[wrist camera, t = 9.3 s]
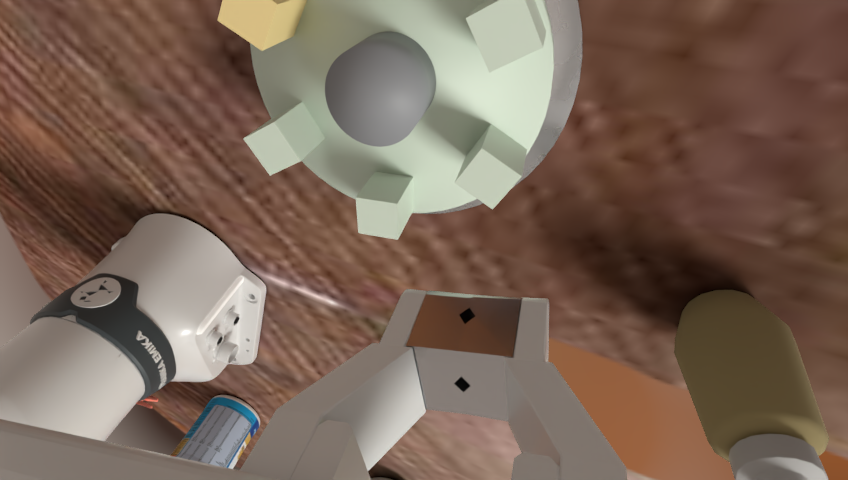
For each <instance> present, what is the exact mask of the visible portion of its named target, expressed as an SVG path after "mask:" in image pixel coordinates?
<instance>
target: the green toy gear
mask: <svg viewBox="0 0 848 480" xmlns="http://www.w3.org/2000/svg"><path fill="white" fill-rule="evenodd" d="M218 21H219V22H220V23H222V24H223V25H225V26H226V27H228V28H229V29H231V30H232V31H234V32H235V33H236V34H238V35H239V36H241V37H242V38H244V39H245V40H247V41H248V42H250V48H251V56H252V63H253V68H254V73H255V77H256V81H257V85H258V88H259V90H260V93H261V96H262V99H263V102H264V104H265V106H266V108H267V110H268V113H269V115H270V117H271V119H270V120H269V121H268V122H266V123H265V124H263V125H262V126H261V127H259V128H258V129H256V130H255V131H253V132H252V133H251V134H249V135H248V136H246V137H245V138H243V139H244V140H245V142H246V143H247V144H248V146H249V147H250V149H251V150H252V151H253V153H254V154H255V156H256V157H257V158H258V160H259V161H260V162H261V164H262V165H263V167H264V168H265V169H266V171H267V172H268V174H269V175H272V174H274V173H276V172H279V171H281V170H283V169H285V168H287V167H289V166H291V165H294V164H296V163H298V162H300V161H302V162H303V163H304V164H305V165H306V166H307V167H308V168H310V169H311V170H312V171H313V172H314V173H315V174H316V175H317V176H318V177H320V178H321V179H322V180H324V181H325V182H327V183H328V184H329V185H331V186H332V187H334V188H335V189H337V190H339V191H340V192H342V193H344V194H345V195H347V196H349V197H352V198H354V199H356V208H357V221H358V233H361V234H367V235H373V236H379V237H385V238H391V239H396V240H398V238H399V237H400V235H401V233H402V231H403V229H404V227H405V225H406V223H407V221H408V219H409V217H410V216H411V214H412V213H429V212H436V211H444V210H447V209H451V208H455V207H459V206H461V205H464V204H466V203H469V202H471V201H474V200H476V199H478V200H480V201H481V202H483V203H484V204H486V205H487V206H488V207H490V208H491V209H493V208H494V207H495V206H496V205H497V204H498V203H499V202H500V201H501V200H502V198H503V197H504V196H505V195H506V194H507V193H508V192H509V191H510V189H511V188H512V187H513V186H514V185H515V184H516V183H517V182H518V181H519V179H520V178H521V177H522V174H523V169H524V163H525V158H526V155H527V154H528V152H529V150H530V149H531V147H532V145H533V143H534V142H535V140H536V138H537V136H538V134H539V132H540V129H541V127H542V124H543V122H544V119H545V116H546V112H547V108H548V104H549V100H550V96H551V88H552V79H553V70H554V40H553V33H552V27H551V20H550V16H549V13H548V9H547V6H546V2H545V0H223V1H222V5H221V9H220V12H219V16H218Z"/></svg>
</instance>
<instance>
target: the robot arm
mask: <svg viewBox="0 0 848 480" xmlns="http://www.w3.org/2000/svg"><path fill="white" fill-rule="evenodd" d="M111 250H112V251H111V252H110V253H109V254H108V255H107V256H106V257H105V258H104V259H103V260H102V261H101V262H100V263H98V264H97V265H96V266H95V267H94V268H93V269H92V270H91V271H90V272H89V273H88V274H87V275H86V276H85V277H84V278H83V279H82V280H81V281H80V282H79V283H78V284H77V285H76V286H74V287H72V288H69V289H67V290H66V291H64V292H63V293H62V294H60V295H59V296H58V297H57V298H55V299H54V300H53V301H51V302H49V303H47V304H46V305H45V306H44V307H42V309H41V310H40V311H39V312H38V313H37V314H36V315H34V316H33V318H32V319H31V321H30V325H29V326H28V327H27V328H25V329H24V330H23V331H22V332H20V333H19V334H18V335H16V336H15V337H14V338H12V339H11V340H10V341H9V342H7V343H6V344H5V345H3V346H2V347H1V348H0V480H371V479H370V476H369V473H368V471H369V470H370V469H371V468H372V467H373V466H374V465H375V464H376V463H377V462H378V461H379V460H380V459H381V458H382V457H383V455H384V454H385V453H386V452H387V451H388V450H389V449H390V448H391V447H392V446H393V445H394V444H395V443H396V442H397V441H398V440H399V439H400V438H401V437H402V436H403V435H404V434H405V433H406V432H407V431H408V430H409V429H410V428H411V427H412V426H413V425H414V424H415V423H416V422H417V421H418V419H419V418H420V417H421V416H422V415H423V414H424V413H425V412H426V409H428V410H436V411H445V412H453V413H461V414H469V415H474V416H480V417H486V418H491V419H497V420H503V421H508V422H509V426H510V428H511V430H512V432H513V434H514V437H515V439H516V441H517V443H518V445H519V448H520V450H521V452H522V453H521V454H520V455H518V456H517V457H515V458H514V463H513V470H512V478H511V480H627V472H626V467H625V465H624V464H623V462H622V461H621V460H620V458H619V457H618V455H617V454H616V453H615V451H614V450H613V448H612V447H611V445H610V444H609V443H608V441H607V440H606V438H605V437H604V435H603V434H602V433H601V431H600V430H599V429H598V427H597V425H596V424H595V423H594V421H593V420H592V418H591V417H590V416H589V414H588V413H587V411H586V410H585V409H584V407H583V406H582V404H581V403H580V401H579V400H578V399H577V397H576V396H575V394H574V393H573V391H572V390H571V389H570V387H569V386H568V384H567V383H566V382H565V380H564V379H563V377H562V376H561V374H560V373H559V372H558V370H557V369H556V367H555V366H554V364H553V363H551V362H548V343H549V300H548V299H540V298H515V297H499V296H484V295H469V294H459V293H448V292H438V291H422V290H412V289H407V290H405V291H404V292H403V293H402V295H401V297H400V299H399V301H398V304H397V306H396V308H395V310H394V312H393V315H392V317H391V319H390V321H389V323H388V325H387V328H386V330H385V332H384V334H383V336H382V339H381V341H380V343H379V344H376V343H372V344H371V345H369V346H368V347H366V348H365V349H363V350H362V351H360V352H359V353H358V354H356V355H355V356H353V357H352V358H350V359H349V360H347V361H346V362H345V363H343V364H342V365H340V366H339V367H337V368H336V369H334V370H333V371H331V372H330V373H329V374H327V375H326V376H324V377H323V378H321V379H320V380H318V381H317V382H316V383H314V384H313V385H311V386H310V387H308V388H307V389H305V390H304V391H302V392H301V393H300V394H298V395H297V396H295V397H294V398H292V399H291V400H289V401H288V402H287V403H285V404H284V405H282V406H281V407H279V408H278V409H277V410H276V412H275V413H274V415H273V417H272V418H271V420H270V422H269V423H268V425H267V426H266V428H265V430H264V431H263V433H262V435H261V436H260V438H259V440H258V441H257V443H256V445H255V446H254V448H253V450H252V451H251V453H250V455H249V456H248V458H247V460H246V461H245V463H244V465H243V466H242V468H241V470H235V469H230V468H226V467H221V466H216V465H212V464H207V463H202V462H198V461H193V460H189V459H184V458H179V457H175V456H170V455H165V454H161V453H156V452H151V451H147V450H142V449H137V448H133V447H128V446H124V445H119V444H114V443H110V442H105V440H106V439H107V437H108V436H109V435H110V434H111V433H112V431H113V430H114V429H115V428H116V427H117V425H118V424H119V423H120V421H121V420H122V419H123V418H124V417H125V416H126V414H127V413H128V412H129V411H130V410H131V409H132V407H133V406H134V405H135V404H139V405H142V406H145V407H149V408H152V406H151V405H149V404H147V403H145V402H142V401H143V400H146V401H156V402H157V401H158V398H156V397H153V396H150V395H152V394H153V393H155V392H156V391H158V390H159V389H160V388H162V387H163V386H165V385H166V384H167V383H169V382H170V381H177V382H205V381H209V380H212V379H214V378H215V377H216V376H218V375H219V374H220V373H221V371H222V370H223V369H224V368H225V367H226V366H227V364H236V365H244V364H250V363H252V362H253V361H254V360H255V359H256V357H257V352H258V345H259V338H260V331H261V324H262V317H263V310H264V303H265V296H266V286H265V284H264V283H263V282H262V281H261V280H260V279H259V278H258V277H257V276H255V275H254V274H253V273H251V272H250V271H249V270H247V269H246V268H245V267H244V266H243V265H242V264H241V263H240V262H239V260H238V259H237V258H236V257H235V255H234V254H233V253H232V252H231V251H230V249H229V248H228V247H227V246H226V245H225V244H224V243H223V242H222V241H221V240H219V239H218V238H217V237H216V236H215V235H213V234H212V233H211V232H209V231H208V230H206V229H205V228H203V227H201V226H200V225H198V224H196V223H194V222H192V221H190V220H187V219H185V218H182V217H179V216H175V215H171V214H161V213H159V214H151V215H147V216H145V217H143V218H141V219H140V220H139V221H138V222H137V223H136V224H135V226H134V227H133V228H132V230H131V231H130V232H129V233H128V235H127V236H126V237H123V238H121V239H119V240H118V241H117V242H116V243H115V244H114V245H113V246H112V248H111Z"/></svg>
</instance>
